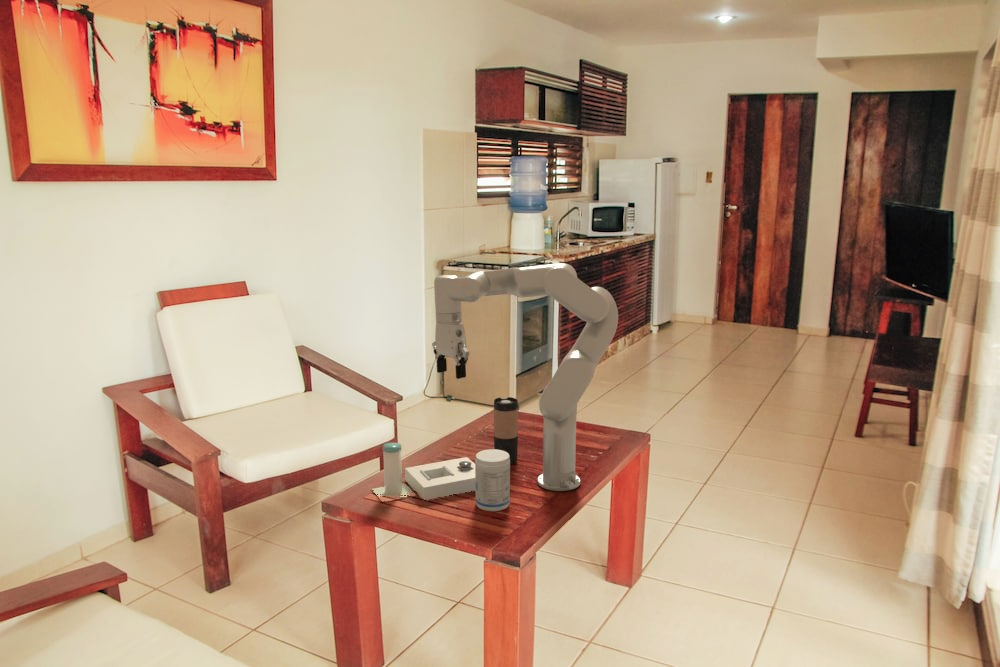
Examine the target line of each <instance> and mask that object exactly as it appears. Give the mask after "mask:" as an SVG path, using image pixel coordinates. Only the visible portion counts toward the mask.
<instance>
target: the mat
mask: <svg viewBox="0 0 1000 667" xmlns="http://www.w3.org/2000/svg"><path fill="white" fill-rule="evenodd" d="M372 490H374V491H372ZM371 491H372V492H373V494H374V493H375V494H376V495H377V494H378V495H377V496H379V497H380V496H381V497H382V496H386V497H387V496H388V497H389V495H386V494H385V487H384V486H380V487H375V488H371ZM409 491H410V492H409ZM411 492H413V490H412V489H411V487H409V486H408V485H407V484H406V483H405V482H402V493H401V494H399V495H403V496H400V497H407V495H409V494H410V493H411ZM407 493H408V494H407ZM413 493H414V492H413ZM413 493H411V494H413ZM375 494H374V495H375ZM380 494H381V495H380ZM382 494H383V495H382ZM384 494H385V495H384ZM376 495H375V496H376ZM404 495H406V496H404ZM377 496H376V497H377ZM409 496H410V495H409ZM390 497H391V496H390ZM398 497H399V496H398Z"/></svg>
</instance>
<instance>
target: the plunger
mask: <svg viewBox="0 0 1000 667" xmlns="http://www.w3.org/2000/svg"><path fill="white" fill-rule="evenodd" d="M459 466H460V470H461V471H467V470H470V466H471V462H468V461H462V462H460V463H459Z"/></svg>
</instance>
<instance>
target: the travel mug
mask: <svg viewBox="0 0 1000 667" xmlns="http://www.w3.org/2000/svg"><path fill="white" fill-rule="evenodd" d="M518 404H519V402H518V399H517V398H515V397H509V396H508V397H506V398H501V397H496V398H495V399H494V400H493V448H494V449H497V450H502V451H505V452H507V453H508V454H509V456H510V465H514V464H515V462H516V463H517V461H518V448H519V445H518V443H519V412H518V411H519V405H518Z"/></svg>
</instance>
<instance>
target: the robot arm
mask: <svg viewBox="0 0 1000 667" xmlns="http://www.w3.org/2000/svg"><path fill="white" fill-rule="evenodd" d="M433 284H434V285H433V286H434V288H433V289H434V304H435V305H434V306H435V333H434V334H435V336H434V337H435V338H434V340H435V341H433V342H432V344H431V345H432V348H433V353H434V357H435V360H436V372H437V373H439V374H440V373H445V372H447V371H448V369H447V366H448V364H447V357H448V358H452V359H454V361H455V363H456V365H455V378H456V379H458V380H459V379H463V378H464V379H465V378H466V377H467V370H466V368H467V366H466V365H467V364H468V363H467V362H468V360H469V357H470V351H469V350H468V349H467V346H468V345H467V337H466V330H465V327H464V323H463V316H462V302H463V303H474V302H475V303H476V302H478V301H479V300H481V299H482V298H483V297H491V296H499V295H500V296H501V295H510V296H514V297H516V298H517V297H518V298H532V297H540V296H541V297H542V296H550V297H551V298H552V299H553V300H554V301H555V302H556V303H558V304H560V305H561V306H562V307H564V308H565V309H566V310H568V311H569V312H571V313H572V314H573V315H575V316H576V317H578V318H579V319H580V320H582V321H583V322H586V324H585V326H584V327H583V329H582V331H581V332H580V334H579V335H578V337H577V339H576V341H575V343H574V344H573V345H572V347H571V349H570V350H569V352H568V353H567V354H566V355H565V356H564V357H563V359H562V361H561V362H560V364H559V366H558V368H557V370H555V373H554V375H553V376H552V378H551V379H550V380H549V382H548V383H547V384H546V386H545V387H544V389H543V391H542V394H541V395H540V398H539V399H538V400H539V401H538V407H539V411H540V413H541V415H542V416H543V421H542V422H543V424H542V425H543V427H542V428H543V430H542V436H543V437H542V444H543V445H542V474H540V475H538V477H537V484H538V485H539V486H540V487H541V488H543V489H546V490H547V491H553V492H566V491H572V490H575V489H577V488H579V487H580V485H581V478H580V477H579V476H578V475H577V472H576V452H577V450H576V449H577V448H576V445H577V444H576V443H577V440H576V439H577V437H576V436H577V413H578V403H579V402H580V400H581V398H582V396H584V394H585V392H586V390H587V389H588V388H589V386H590V385H591V382H592V380H593V378H594V376H595V372H596V368H597V367H598V365H599V363H600V361H601V360H602V358H603V356H604V355H605V353H606V351H607V349H608V347H609V346H610V344H611V343H612V340H613V339H614V336H615V335H616V333H617V332H616V331H617V328H618V324H619V311H618V310H619V309H618V307H617V303H616V301H615V299H614V297H613V295H612V294H611V293H610V291H608V289H605V288H604V287H602V286H593V287H590V286H589V285H587V284H586V283H585V282H584V281H582V280H581V279H580V278H578V274H577V272H576V270H575V268H574V267H573V266H572V265H570V264H569V263H564V262H563V263H551V264H550V263H549V264H543V265H533V266H523V267H514V268H504V269H502V268H501V269H493V270H484V271H483V270H482V271H476V272H473V273H471V274H468V275H466V276H463V277H460V276H457V275H455V274H443V275H437V276H436V277H435V278H434V281H433ZM459 358H460V359H459Z"/></svg>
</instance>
